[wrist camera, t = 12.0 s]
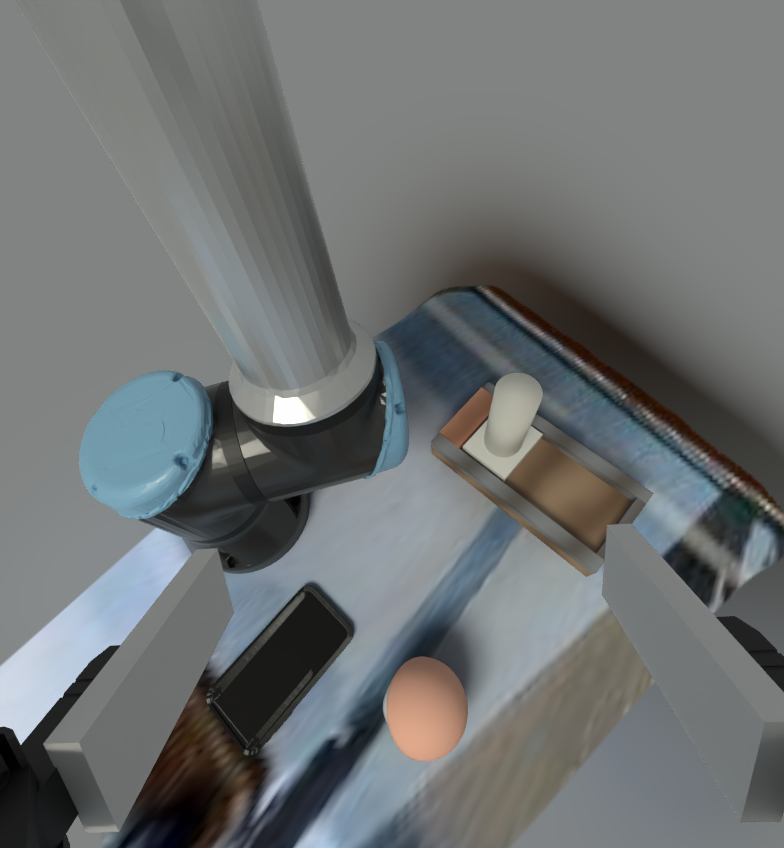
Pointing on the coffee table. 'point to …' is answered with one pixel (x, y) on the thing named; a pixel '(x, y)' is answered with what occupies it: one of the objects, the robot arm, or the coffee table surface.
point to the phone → (278, 669)
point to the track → (548, 485)
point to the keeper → (507, 426)
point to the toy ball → (425, 709)
